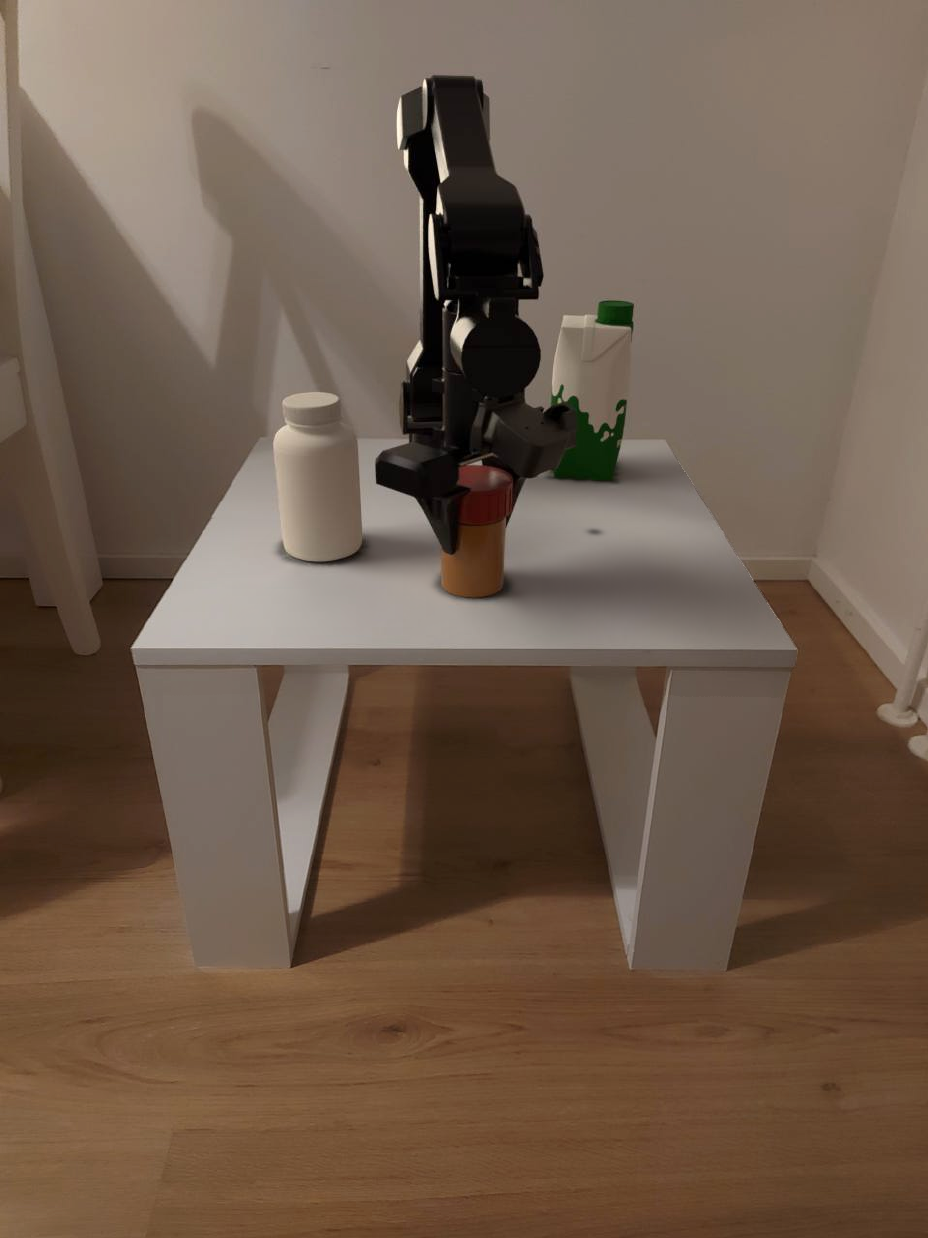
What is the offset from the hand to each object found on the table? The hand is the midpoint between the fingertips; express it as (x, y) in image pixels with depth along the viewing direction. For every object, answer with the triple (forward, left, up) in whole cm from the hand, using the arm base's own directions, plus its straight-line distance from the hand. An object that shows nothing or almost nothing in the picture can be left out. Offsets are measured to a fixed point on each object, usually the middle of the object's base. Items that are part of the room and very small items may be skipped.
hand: (474, 542), depth 79 cm
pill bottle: (-17, -4, -4) cm, 18 cm away
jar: (0, 0, -4) cm, 4 cm away
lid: (0, 0, +3) cm, 3 cm away
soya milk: (-11, +33, -4) cm, 35 cm away
